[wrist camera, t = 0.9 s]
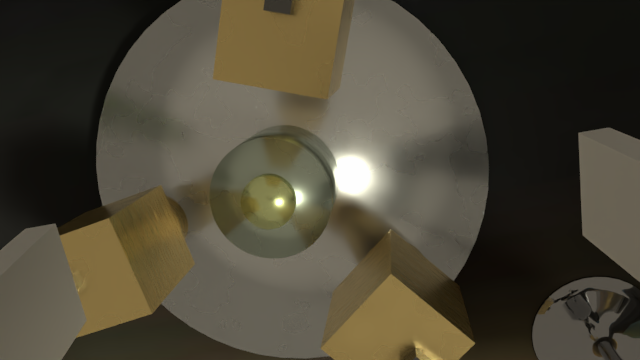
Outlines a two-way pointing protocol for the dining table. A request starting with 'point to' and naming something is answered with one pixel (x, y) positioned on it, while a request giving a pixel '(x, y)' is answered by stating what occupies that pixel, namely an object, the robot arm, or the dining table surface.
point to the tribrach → (294, 169)
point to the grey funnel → (589, 321)
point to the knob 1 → (126, 257)
